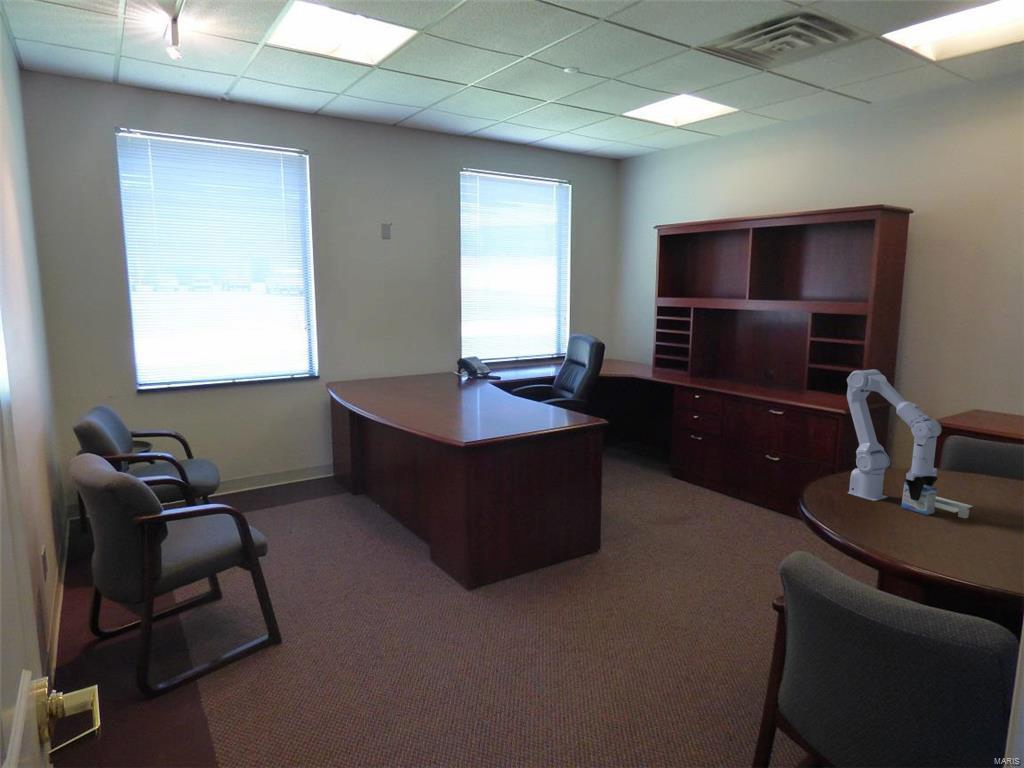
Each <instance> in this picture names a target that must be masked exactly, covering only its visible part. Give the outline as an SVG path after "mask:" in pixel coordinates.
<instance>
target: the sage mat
mask: <svg viewBox="0 0 1024 768" xmlns="http://www.w3.org/2000/svg"><path fill="white" fill-rule="evenodd" d="M936 498H937V499H941V500H944V501H948V502H952V503H956V504H960V505H963V506H967V507H969V509H971V508H973V507H974V505H970V504H966V503H964V502H959V501H956V500H955V501H954V500H951V499H948V498H944V497H940V496H937V495H936ZM935 509H938V510H941V511H946V512H948V513H953V514H957V513H958V511H959V508H955V507H952V506H948V505H944V504H941V503H937V502H935Z"/></svg>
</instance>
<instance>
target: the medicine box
mask: <svg viewBox="0 0 1024 768" xmlns="http://www.w3.org/2000/svg"><path fill="white" fill-rule="evenodd" d="M937 491H938V487H935V486H928V485H924V486H923V488H922V491H921V495H920V498H919V500H918V501H916V500H913V499H911V497H910V492H909V488H908V485H907V483H906V481H905V482H904V484H903V491H902V500H901V506H900V507H901V508H902V509H903V510H904V509H905V510H908V511H911V512H914V513H918V514H921V515H925V516H928V515H931V514H935V509H936V508H935V501H936V496H937Z"/></svg>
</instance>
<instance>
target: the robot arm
mask: <svg viewBox="0 0 1024 768" xmlns="http://www.w3.org/2000/svg"><path fill="white" fill-rule="evenodd" d="M846 382H847V391H846V399H847V403H848V407H849V410H850V414H851V418H852V421H853V425H854V428H855V429H854V430H855V432H856V437H857V441H858V447H857V449H856V451H855V453H856V458H855V461H856V462H855V464H856V467H857V468H856V467H855V468H854V469H853V470H852V471H851V473H850V477H849V478H850V479H849V490H848V491H847V494H850V495H852V496H855V497H857V498H858V497H859V498H862V499H865V500H870V501H872V502H876V501H880V500H884V499H887V498H888V495H884V494H883V486H884V477H885V472H886V469H887V468H888V467H889V466H890V464H891V459H890V457H889V455H888V454H887V452H886V451H885V449H884V447H883V446H882V444H880V443H879V442H878V440H877V436H876V431H875V427H874V424H873V421H872V417H871V413H870V410H869V407H868V403H867V397H868V396H869V395H870V393H871V392H876V393H879V394H880V395H881V396H882V397H883V398H884V399H886V400H887V402H889V403H890V404H891V405H892V406H894V407H895V408H896V411H895V412H896V415H898V417H900V418H901V420H902V421H903V422H904V423H906V425H907V426H908V427H909V428H911V429H910V431H911V434H912V435H913V442H914V443H913V451H912V459H911V460H912V461H911V468H910V469H909V471H908V472H906V474H905V475H906V476H904V481H905V482H906V483H907V485H908V488H909V492H910V497H911V499H913V500H916V501H918V500H919V498H920V495H921V491H922V488H923V486H924V485H928V486H932V487H934V484H935V483H936V482H937V481H938V476H937V475H938V474H937V473H938V472H937V470H938V468H936V467H934V465H935V457H936V447H937V439H938V436H940V435H941V433H942V430H943V429H942V425H941V424H940V423H939V421H938V420H936V419H934V418H930V416H929V415H926V413H924V412H923V411H922V410H921V409H920V408H919V404H917V403H914V402H912V401H906V400H905V399H904V398H903V397H902V396H901V395H900V393H899V392H898V391H897V390H896V389H895V388H894V387H893V386H892V385H891V384H890V382H889V381H888V380H887V377H886V376H885V375H883V374H882V372H881V371H880V370H878V369H873V368H872V369H865V370H864V369H863V370H860V369H859V370H857V369H856V370H854V371H852V372H851V373H850V374H849V376H848V377H847V378H846Z"/></svg>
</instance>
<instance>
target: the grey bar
mask: <svg viewBox="0 0 1024 768" xmlns="http://www.w3.org/2000/svg"><path fill="white" fill-rule="evenodd" d="M935 502H937V503H941V504H944V505H948V506H952V507H955V508H959V509H963V510H970V508H969V507H967V506H963V505H960V504H956V503H952V502H948V501H944V500H941V499H937V498H936V501H935Z"/></svg>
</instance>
